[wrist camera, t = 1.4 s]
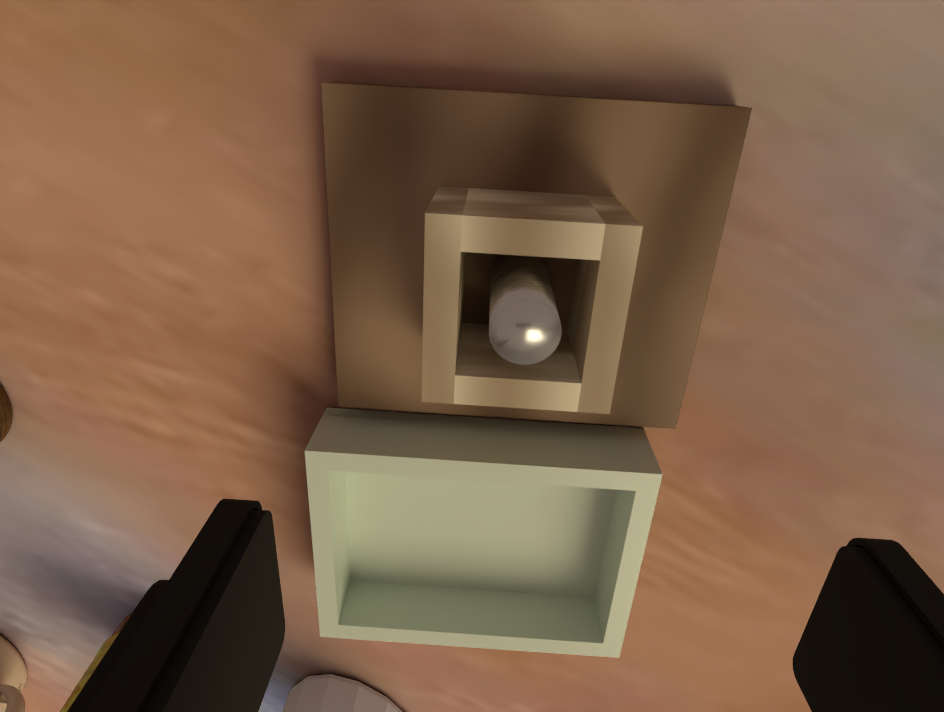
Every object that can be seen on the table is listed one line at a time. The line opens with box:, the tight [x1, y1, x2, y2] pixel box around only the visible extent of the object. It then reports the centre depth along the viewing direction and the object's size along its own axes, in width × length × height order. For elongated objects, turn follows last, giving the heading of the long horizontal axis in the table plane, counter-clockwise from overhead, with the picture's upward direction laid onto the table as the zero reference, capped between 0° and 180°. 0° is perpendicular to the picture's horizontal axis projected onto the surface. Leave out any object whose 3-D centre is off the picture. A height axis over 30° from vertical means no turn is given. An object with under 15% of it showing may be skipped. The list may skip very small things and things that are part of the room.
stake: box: [489, 254, 562, 365], centre depth 22 cm, size 2×2×6 cm
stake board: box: [321, 82, 752, 429], centre depth 26 cm, size 16×14×2 cm
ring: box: [422, 186, 643, 414], centre depth 23 cm, size 7×7×5 cm
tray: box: [305, 408, 662, 658], centre depth 31 cm, size 16×12×4 cm
